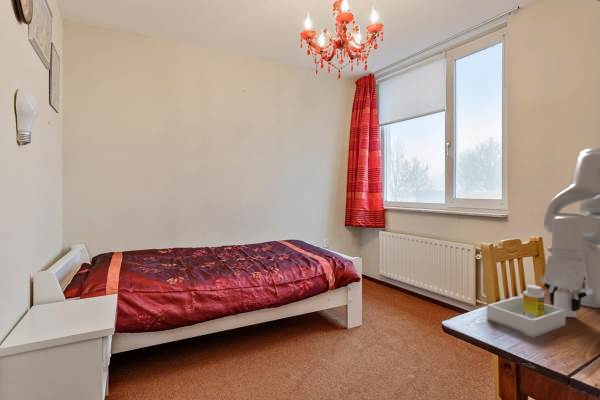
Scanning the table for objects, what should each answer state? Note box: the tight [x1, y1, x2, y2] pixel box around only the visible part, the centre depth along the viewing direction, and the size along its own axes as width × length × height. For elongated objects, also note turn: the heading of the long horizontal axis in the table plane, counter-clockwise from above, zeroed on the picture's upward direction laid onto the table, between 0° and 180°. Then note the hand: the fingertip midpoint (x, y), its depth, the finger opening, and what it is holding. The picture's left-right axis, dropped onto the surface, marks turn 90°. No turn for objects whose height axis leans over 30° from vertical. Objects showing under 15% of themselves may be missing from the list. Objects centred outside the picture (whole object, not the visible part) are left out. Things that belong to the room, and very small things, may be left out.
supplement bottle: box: [522, 284, 545, 319], centre depth 103 cm, size 6×6×10 cm
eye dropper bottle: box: [553, 288, 577, 318], centre depth 105 cm, size 4×6×12 cm
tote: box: [486, 295, 567, 338], centre depth 101 cm, size 18×14×5 cm
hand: (564, 306), depth 106 cm, fingers closed on eye dropper bottle, 5 cm apart
